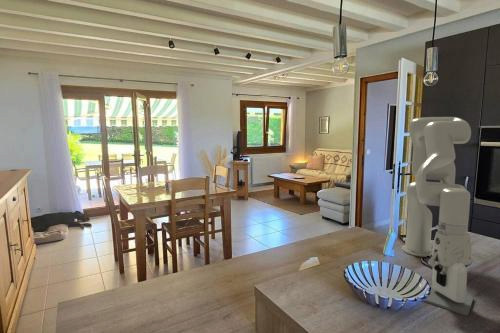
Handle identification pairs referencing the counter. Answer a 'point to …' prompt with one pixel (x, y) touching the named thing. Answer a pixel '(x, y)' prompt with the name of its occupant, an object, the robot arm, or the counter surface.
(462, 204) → the robot arm
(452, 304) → the mat
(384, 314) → the counter surface
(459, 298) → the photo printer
